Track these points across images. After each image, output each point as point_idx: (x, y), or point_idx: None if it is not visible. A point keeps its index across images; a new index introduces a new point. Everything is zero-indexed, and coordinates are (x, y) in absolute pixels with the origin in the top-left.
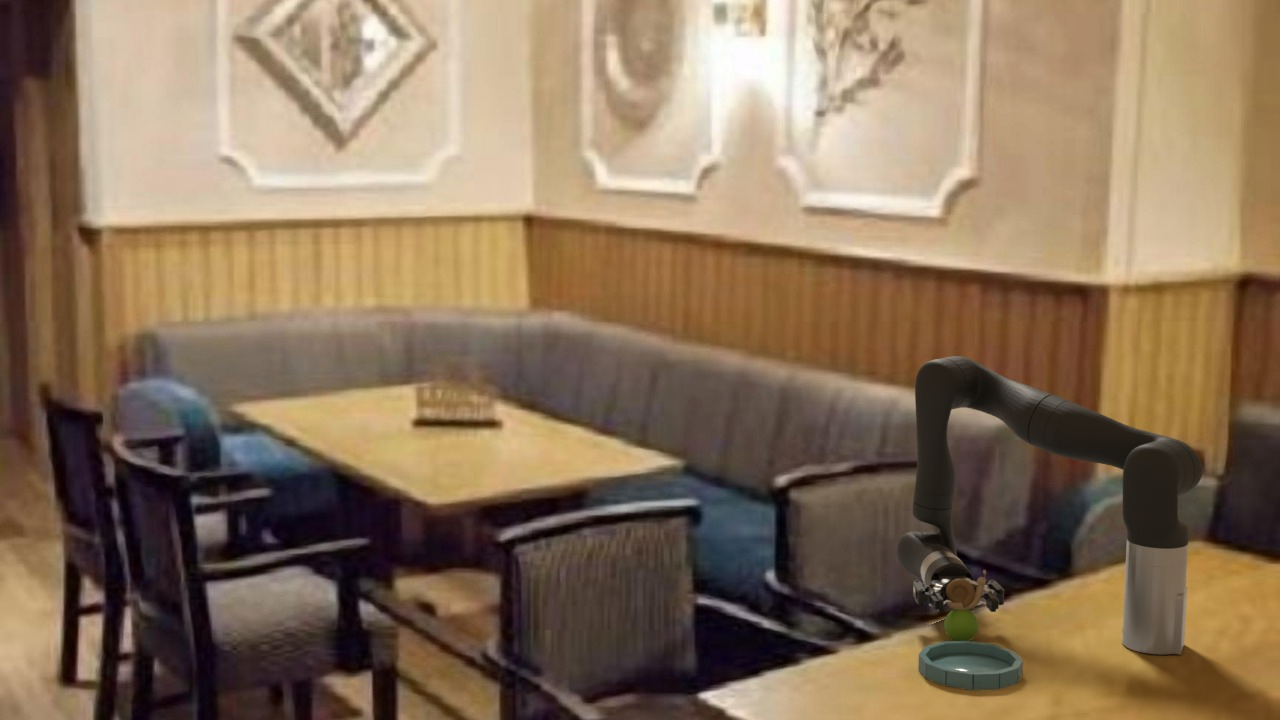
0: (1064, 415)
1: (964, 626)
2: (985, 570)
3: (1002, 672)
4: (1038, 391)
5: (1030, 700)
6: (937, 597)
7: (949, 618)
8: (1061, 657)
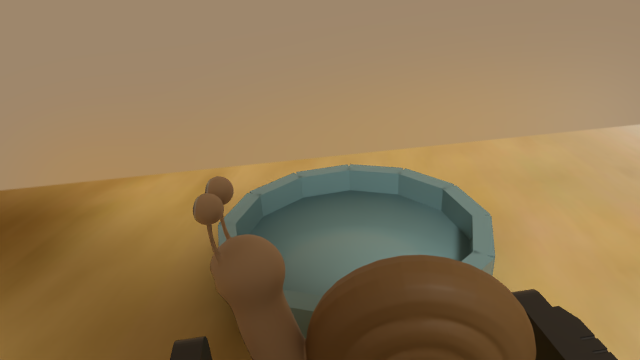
0: None
1: None
2: (199, 196)
3: (288, 175)
4: None
5: (251, 181)
6: (564, 324)
7: None
8: None
